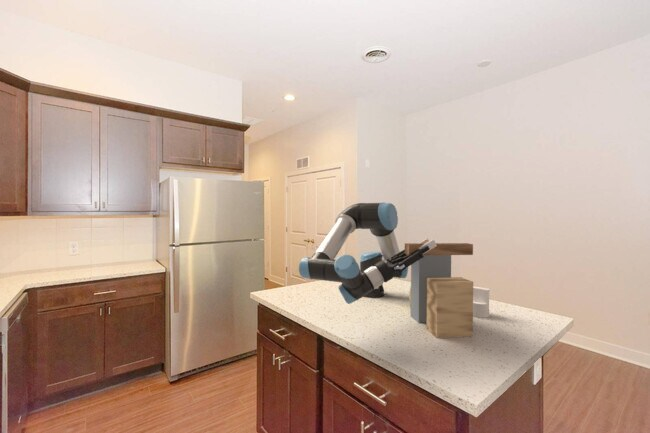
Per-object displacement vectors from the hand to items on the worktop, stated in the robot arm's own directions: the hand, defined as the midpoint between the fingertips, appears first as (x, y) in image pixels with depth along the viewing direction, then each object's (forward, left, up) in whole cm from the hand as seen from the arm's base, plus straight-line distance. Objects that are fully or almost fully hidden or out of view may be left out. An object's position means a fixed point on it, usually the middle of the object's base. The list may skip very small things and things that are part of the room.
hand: (431, 242), depth 113 cm
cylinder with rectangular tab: (-18, +31, -35) cm, 50 cm away
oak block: (0, +7, -34) cm, 35 cm away
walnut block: (0, +3, -5) cm, 5 cm away
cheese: (-27, +9, -35) cm, 45 cm away
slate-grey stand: (-15, +7, -34) cm, 38 cm away
